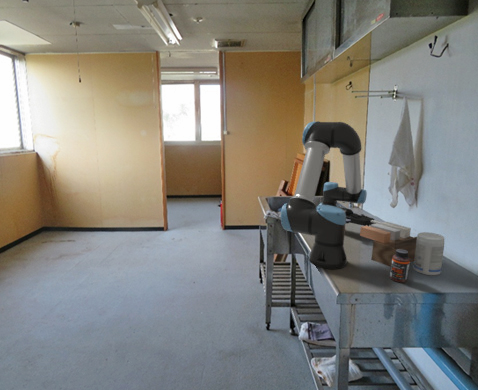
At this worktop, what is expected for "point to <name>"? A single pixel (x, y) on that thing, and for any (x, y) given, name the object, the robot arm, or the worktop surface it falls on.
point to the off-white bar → (404, 230)
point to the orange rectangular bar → (375, 234)
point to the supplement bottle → (400, 266)
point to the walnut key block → (393, 249)
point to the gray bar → (394, 232)
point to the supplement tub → (429, 253)
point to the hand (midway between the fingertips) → (383, 226)
